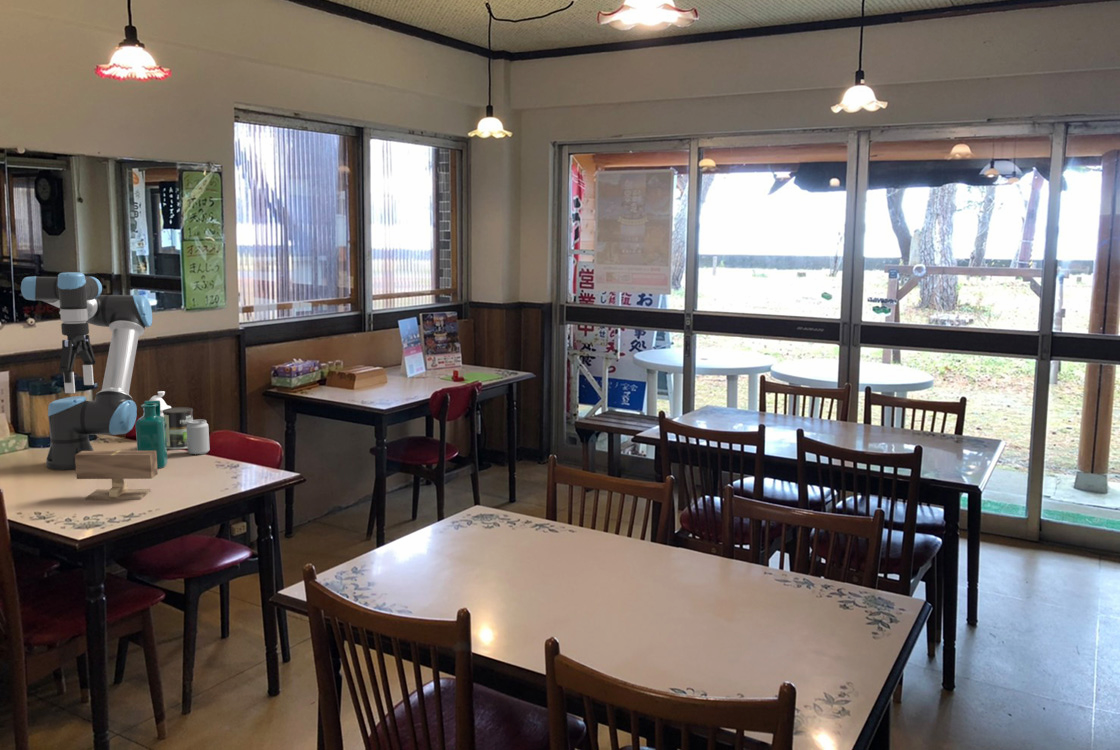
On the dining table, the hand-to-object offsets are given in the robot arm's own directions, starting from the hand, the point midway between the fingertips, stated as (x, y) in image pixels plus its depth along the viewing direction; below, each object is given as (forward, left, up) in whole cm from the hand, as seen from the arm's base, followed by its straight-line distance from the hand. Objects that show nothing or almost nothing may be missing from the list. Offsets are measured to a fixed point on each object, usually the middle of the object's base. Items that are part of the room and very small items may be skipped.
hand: (79, 388), depth 281 cm
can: (-37, +24, -31) cm, 54 cm away
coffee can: (-47, +14, -31) cm, 58 cm away
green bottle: (-20, +14, -31) cm, 39 cm away
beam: (+15, +16, -25) cm, 33 cm away
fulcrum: (+15, +16, -31) cm, 38 cm away
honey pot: (-62, +1, -31) cm, 69 cm away
